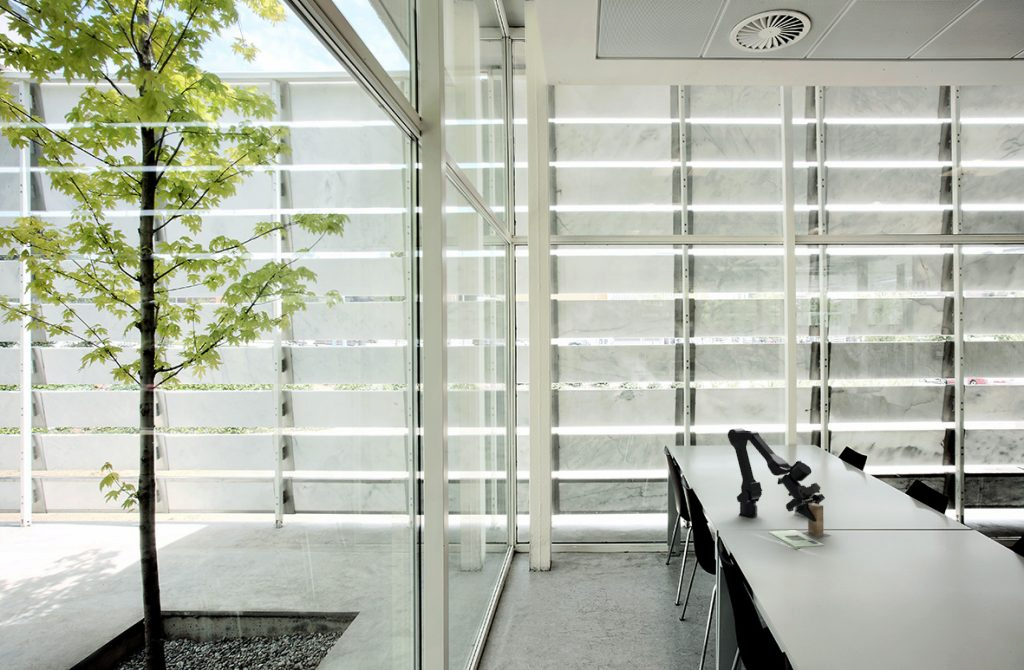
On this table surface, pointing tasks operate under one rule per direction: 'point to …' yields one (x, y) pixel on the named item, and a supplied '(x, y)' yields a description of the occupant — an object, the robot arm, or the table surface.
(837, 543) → the table surface
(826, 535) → the pad
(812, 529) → the post
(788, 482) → the robot arm
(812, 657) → the table surface
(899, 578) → the table surface
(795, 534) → the flange plate
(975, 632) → the table surface
